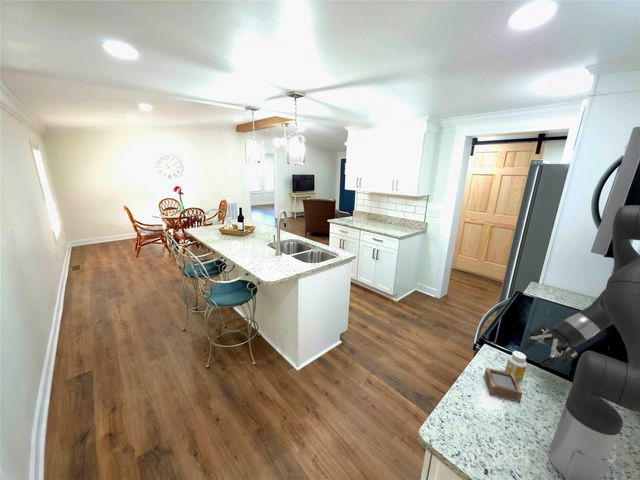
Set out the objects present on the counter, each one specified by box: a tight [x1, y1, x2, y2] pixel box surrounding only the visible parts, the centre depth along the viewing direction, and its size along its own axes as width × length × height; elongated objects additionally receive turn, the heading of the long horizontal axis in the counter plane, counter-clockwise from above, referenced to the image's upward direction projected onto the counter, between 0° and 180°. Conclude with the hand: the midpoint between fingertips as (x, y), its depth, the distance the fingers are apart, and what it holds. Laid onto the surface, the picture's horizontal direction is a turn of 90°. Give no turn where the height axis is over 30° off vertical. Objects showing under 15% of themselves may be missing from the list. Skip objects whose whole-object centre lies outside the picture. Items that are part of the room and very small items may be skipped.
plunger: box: [491, 373, 515, 389], centre depth 89 cm, size 6×6×1 cm
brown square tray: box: [483, 367, 523, 404], centre depth 89 cm, size 8×8×4 cm
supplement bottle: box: [504, 350, 528, 383], centre depth 94 cm, size 5×5×10 cm
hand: (532, 355), depth 92 cm, fingers open, 8 cm apart
